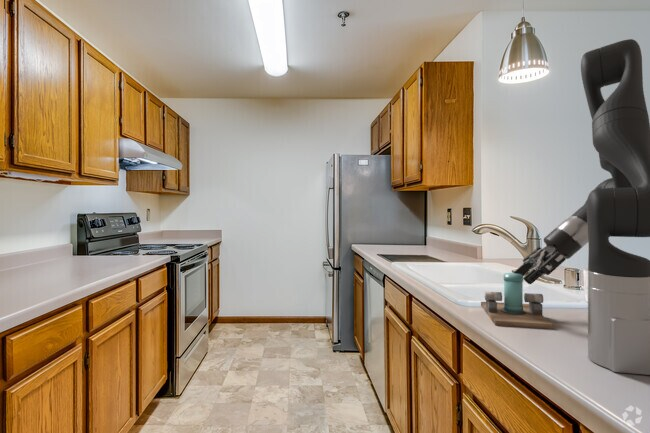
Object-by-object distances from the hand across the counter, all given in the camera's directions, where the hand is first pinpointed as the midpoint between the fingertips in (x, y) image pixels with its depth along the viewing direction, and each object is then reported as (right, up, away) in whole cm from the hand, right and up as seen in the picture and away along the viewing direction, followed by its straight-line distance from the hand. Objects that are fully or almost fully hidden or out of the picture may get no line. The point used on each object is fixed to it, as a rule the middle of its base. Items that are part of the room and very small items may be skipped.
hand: (521, 278), depth 93 cm
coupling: (-2, -9, +1) cm, 9 cm away
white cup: (+31, -10, +12) cm, 35 cm away
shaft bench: (-2, -10, +1) cm, 11 cm away
